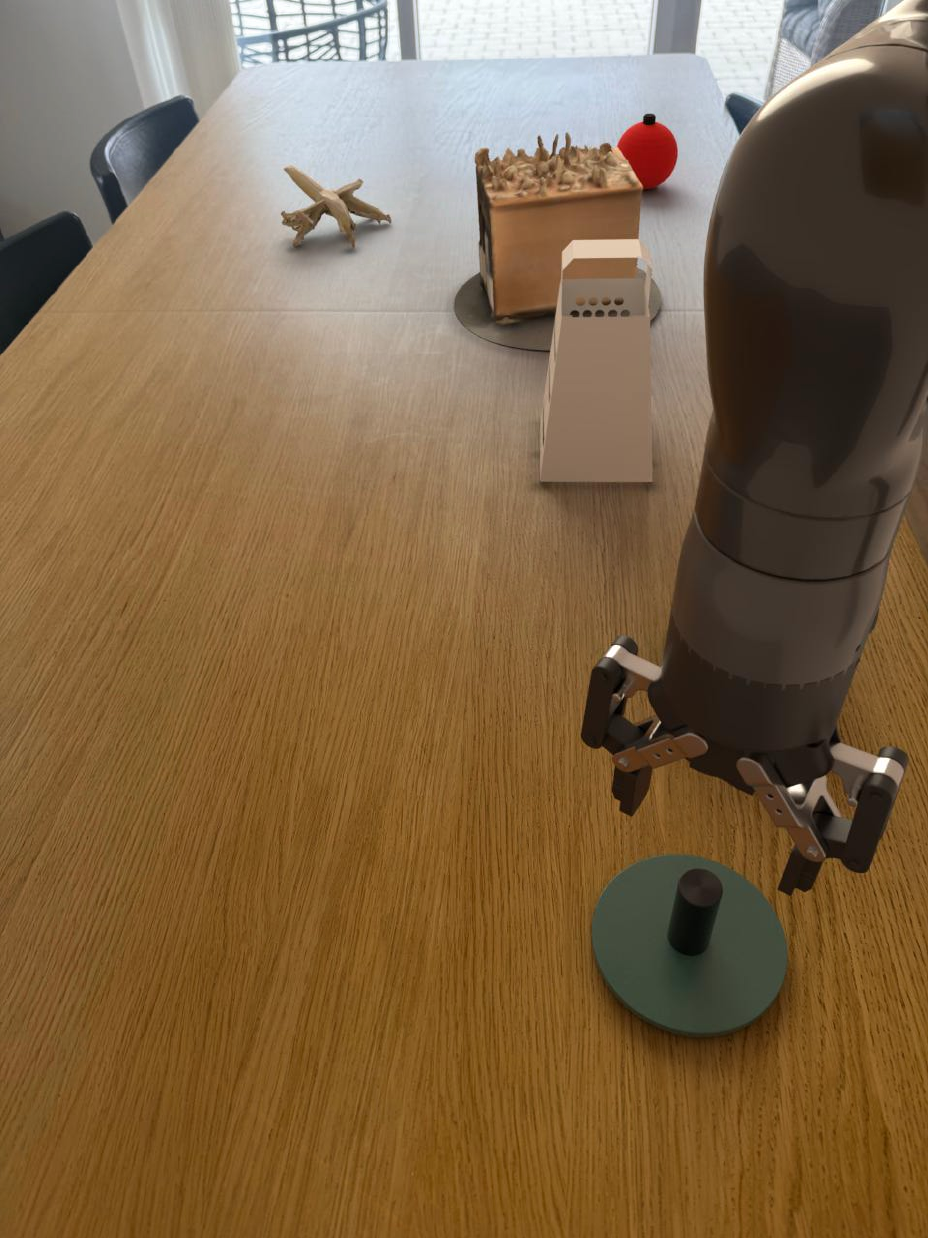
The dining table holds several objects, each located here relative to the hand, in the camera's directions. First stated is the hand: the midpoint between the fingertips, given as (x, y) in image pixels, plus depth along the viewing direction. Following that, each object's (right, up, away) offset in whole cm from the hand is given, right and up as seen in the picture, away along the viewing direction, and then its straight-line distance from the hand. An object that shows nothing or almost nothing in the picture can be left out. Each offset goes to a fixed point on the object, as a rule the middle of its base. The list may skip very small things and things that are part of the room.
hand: (709, 840), depth 49 cm
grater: (0, +28, +45) cm, 53 cm away
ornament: (+14, +75, +94) cm, 121 cm away
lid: (+1, -8, +7) cm, 11 cm away
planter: (-1, +50, +69) cm, 85 cm away
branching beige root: (-31, +65, +86) cm, 113 cm away
